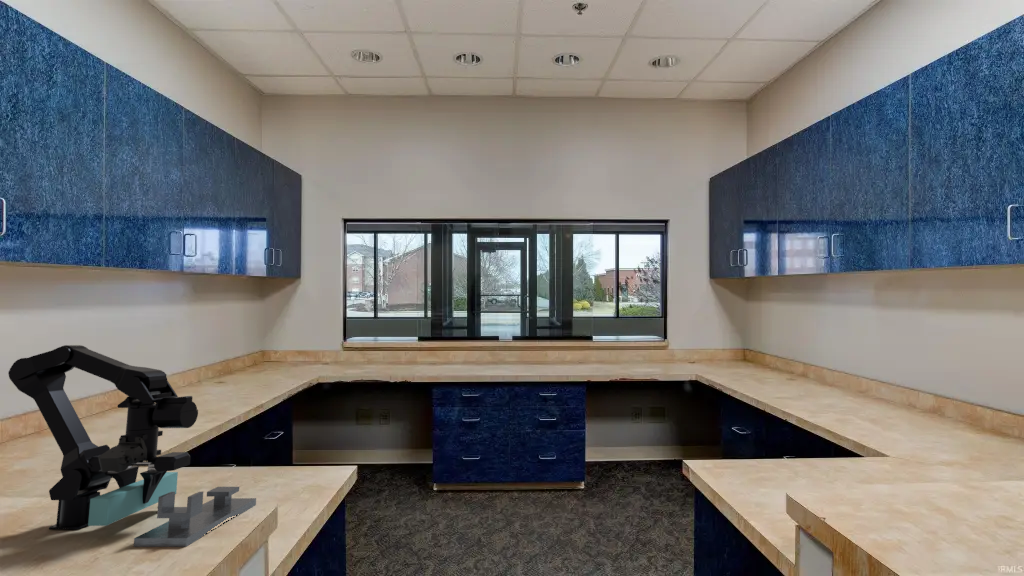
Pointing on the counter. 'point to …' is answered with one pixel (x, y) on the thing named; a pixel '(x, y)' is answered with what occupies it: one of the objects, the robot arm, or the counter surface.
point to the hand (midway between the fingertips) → (136, 503)
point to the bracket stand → (192, 517)
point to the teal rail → (127, 500)
